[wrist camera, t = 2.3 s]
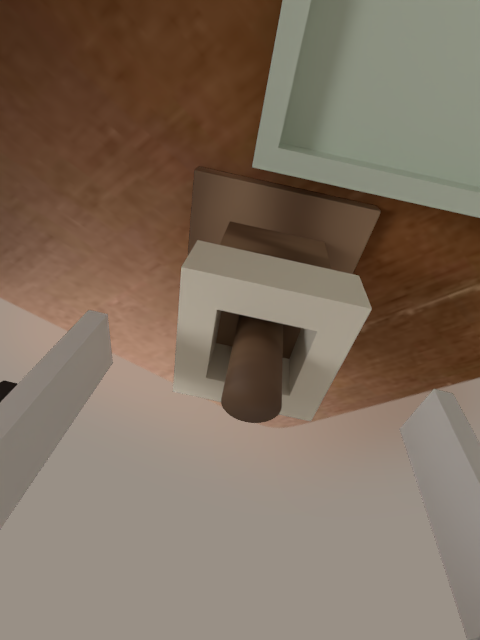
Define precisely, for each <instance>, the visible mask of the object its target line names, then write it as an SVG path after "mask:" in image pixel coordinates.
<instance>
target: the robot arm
mask: <svg viewBox="0 0 480 640" xmlns="http://www.w3.org/2000/svg"><path fill="white" fill-rule="evenodd" d="M112 363H113V362H112V352H111V342H110V332H109V322H108V314H105V313H100V312H96V311H92V310H88V311H87V312H86V313H85V314H84V315H83V316H82V317H81V318H80V319H79V321H78V322H77V323H76V324H75V325H74V326H73V327H72V328H71V329H70V330H69V331H68V332H67V333H66V334H65V335H64V336H63V337H62V338H61V339H60V341H58V343H57V344H56V345H55V346H54V347H53V348H52V349H51V350H50V351H49V352H48V353H47V354H46V355H45V356H44V357H43V358H42V359H41V360H40V361H39V362H38V364H36V366H35V367H34V368H33V369H32V370H31V371H30V372H29V373H28V374H27V375H26V376H25V377H24V378H23V379H22V380H21V381H20V382H19V383H18V384H17V383H12V382H8V381H2V382H0V529H1V528H2V526H3V525H4V523H5V522H6V520H7V519H8V517H9V516H10V514H11V513H12V511H13V510H14V508H15V507H16V505H17V504H18V502H19V501H20V500H21V498H22V497H23V495H24V494H25V492H26V490H27V489H28V487H29V486H30V485H31V483H32V482H33V480H34V479H35V477H36V476H37V474H38V473H39V471H40V470H41V468H42V467H43V466H44V464H45V463H46V461H47V460H48V458H49V457H50V455H51V454H52V452H53V451H54V449H55V448H56V446H57V445H58V443H59V442H60V440H61V439H62V437H63V436H64V434H65V433H66V431H67V430H68V428H69V427H70V426H71V424H72V423H73V421H74V419H75V418H76V417H77V415H78V414H79V412H80V411H81V409H82V408H83V406H84V405H85V403H86V402H87V400H88V399H89V397H90V396H91V394H92V393H93V391H94V390H95V389H96V387H97V385H98V384H99V383H100V381H101V380H102V378H103V377H104V375H105V374H106V372H107V371H108V369H109V368H110V366H111V365H112ZM400 432H401V435H402V438H403V441H404V444H405V447H406V450H407V454H408V457H409V460H410V463H411V466H412V469H413V472H414V476H415V478H416V482H417V485H418V488H419V491H420V494H421V497H422V500H423V503H424V507H425V510H426V512H427V516H428V519H429V522H430V525H431V529H432V531H433V534H434V538H435V541H436V544H437V547H438V550H439V553H440V557H441V560H442V563H443V566H444V569H445V572H446V575H447V578H448V581H449V585H450V588H451V591H452V594H453V597H454V600H455V603H456V606H457V609H458V613H459V616H460V619H461V622H462V625H463V628H464V631H465V634H466V638H467V640H480V443H479V441H478V439H477V437H476V435H475V433H474V432H473V430H472V428H471V426H470V424H469V422H468V420H467V418H466V417H465V415H464V413H463V411H462V409H461V407H460V405H459V404H458V402H457V400H456V398H455V396H454V394H453V393H450V392H445V391H441V390H437V389H433V390H432V391H431V393H430V394H429V395H428V396H427V397H426V399H425V400H424V401H423V402H422V403H421V404H420V406H419V407H418V408H417V409H416V410H415V411H414V413H413V414H412V415H411V416H410V418H409V419H408V420H407V421H406V422H405V423H404V424H403V426H402V427H401V428H400Z"/></svg>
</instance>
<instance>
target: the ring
mask: <svg viewBox="0 0 480 640" xmlns="http://www.w3.org/2000/svg"><path fill="white" fill-rule="evenodd" d="M221 310H222V311H226V312H231V313H235V314H240V315H245V316H249V317H254V318H258V319H263V320H267V321H272V322H277V323H281V324H286V325H290V326H295V327H299V328H301V330H300V333H299V335H298V338H297V341H296V343H295V346H294V348H293V351H292V354H291V356H290V359H287V358H283V365H282V408H281V411H280V413H279V415H283V416H288V417H293V418H297V419H302V420H306V421H311V420H312V418H313V417H314V415H315V413H316V411H317V409H318V407H319V406H320V404H321V402H322V400H323V398H324V396H325V394H326V393H327V391H328V389H329V387H330V385H331V383H332V382H333V380H334V378H335V376H336V374H337V372H338V371H339V369H340V367H341V365H342V363H343V361H344V359H345V358H346V356H347V354H348V352H349V350H350V348H351V347H352V345H353V343H354V341H355V339H356V337H357V336H358V334H359V332H360V330H361V328H362V326H363V324H364V323H365V321H366V319H367V317H368V315H369V313H370V312H371V310H372V308H371V305H370V303H369V300H368V297H367V295H366V292H365V290H364V287H363V284H362V282H361V279H360V277H359V276H358V275H354V274H349V273H345V272H340V271H336V270H331V269H327V268H322V267H318V266H313V265H309V264H304V263H299V262H295V261H290V260H286V259H281V258H277V257H272V256H268V255H263V254H259V253H254V252H250V251H245V250H240V249H236V248H231V247H227V246H222V245H218V244H213V243H209V242H204V241H200V240H197V242H196V244H195V245H194V247H193V249H192V250H191V252H190V254H189V255H188V257H187V258H186V260H185V262H184V263H183V265H182V267H181V279H180V294H179V309H178V324H177V339H176V354H175V369H174V384H173V392H177V393H182V394H186V395H191V396H196V397H200V398H205V399H209V400H214V401H219V402H221V398H222V393H223V388H224V384H225V379H226V374H227V370H228V365H229V360H230V356H231V351H232V346H227V345H223V344H218V343H216V339H217V333H218V328H219V322H220V316H221Z"/></svg>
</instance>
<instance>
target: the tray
mask: <svg viewBox="0 0 480 640" xmlns="http://www.w3.org/2000/svg"><path fill="white" fill-rule="evenodd" d="M252 167H253V168H258V169H262V170H267V171H271V172H276V173H280V174H285V175H289V176H294V177H298V178H303V179H307V180H312V181H316V182H321V183H325V184H330V185H334V186H339V187H343V188H348V189H352V190H357V191H361V192H366V193H370V194H375V195H379V196H384V197H388V198H393V199H397V200H402V201H406V202H411V203H415V204H420V205H424V206H429V207H433V208H438V209H442V210H447V211H451V212H456V213H460V214H465V215H469V216H474V217H478V218H480V0H283V1H282V6H281V12H280V17H279V23H278V28H277V33H276V39H275V44H274V50H273V55H272V61H271V66H270V72H269V77H268V82H267V88H266V93H265V99H264V104H263V110H262V115H261V121H260V126H259V131H258V137H257V142H256V148H255V153H254V159H253V164H252Z"/></svg>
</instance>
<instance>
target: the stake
mask: <svg viewBox="0 0 480 640" xmlns="http://www.w3.org/2000/svg"><path fill="white" fill-rule="evenodd" d="M380 213H381V211H380V209H379V208H378V207H377V206H375V205H371V204H366V203H362V202H357V201H353V200H348V199H344V198H339V197H335V196H330V195H326V194H321V193H317V192H312V191H308V190H303V189H299V188H294V187H290V186H285V185H281V184H276V183H272V182H267V181H263V180H258V179H254V178H249V177H245V176H240V175H236V174H231V173H227V172H222V171H218V170H213V169H209V168H204V167H200V166H199V167H197V168H196V169H195V170H194V182H193V195H192V207H191V220H190V233H189V245H188V255H189V254H190V252H191V250H192V249H193V247H194V245H195V244H196V242H197V240H200V241H204V242H209V243H213V244H218V245H222V246H227V247H231V248H236V249H240V250H245V251H250V252H254V253H259V254H263V255H268V256H272V257H277V258H281V259H286V260H290V261H295V262H299V263H304V264H309V265H313V266H318V267H322V268H327V269H331V270H336V271H340V272H345V273H349V274H353V272H354V270H355V268H356V265H357V263H358V261H359V259H360V257H361V254H362V252H363V250H364V248H365V246H366V243H367V241H368V239H369V237H370V235H371V233H372V230H373V228H374V226H375V224H376V222H377V219H378V217H379V215H380ZM300 330H301V328H299V327H295V326H290V325H286V324H281V323H277V322H272V321H267V320H263V319H258V318H254V317H249V316H245V315H240V314H235V313H231V312H226V311H222V310H221V316H220V322H219V328H218V333H217V339H216V343H218V344H223V345H227V346H232V351H231V356H230V360H229V365H228V370H227V374H226V379H225V384H224V388H223V393H222V398H221V403H222V406H223V408H224V410H225V411H226V412H227V413H228V414H229V415H231V416H233V417H234V418H236V419H238V420H241V421H245V422H251V423H261V422H266V421H269V420H271V419H273V418H275V417H276V416H277V415H278V414H279V413H280V411H281V408H282V365H283V358H287V359H290V356H291V354H292V351H293V348H294V346H295V343H296V341H297V338H298V335H299V333H300Z"/></svg>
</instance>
